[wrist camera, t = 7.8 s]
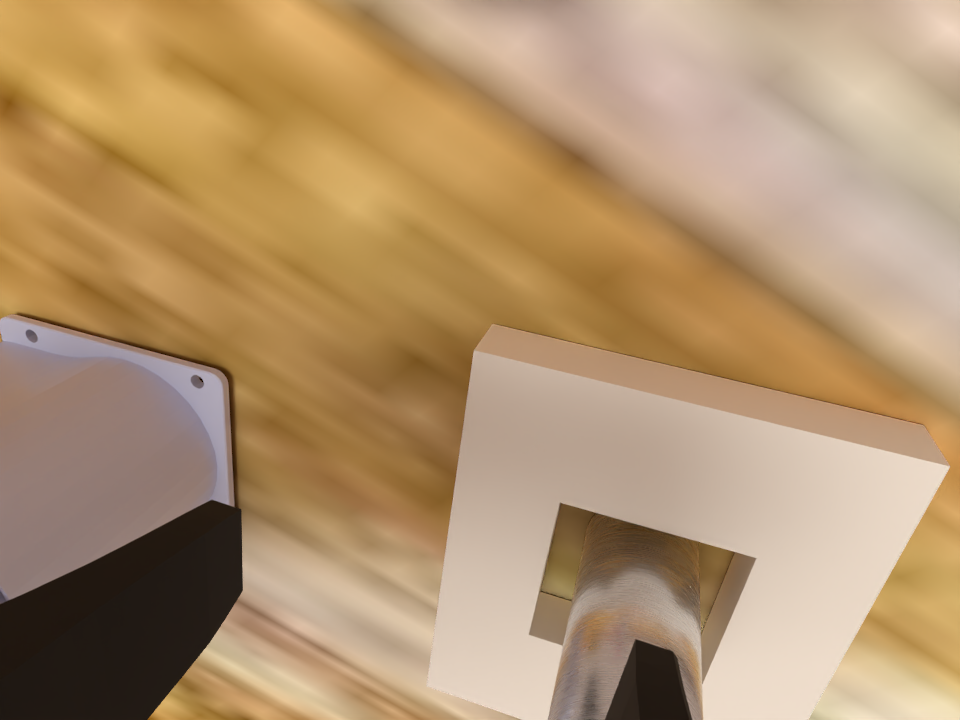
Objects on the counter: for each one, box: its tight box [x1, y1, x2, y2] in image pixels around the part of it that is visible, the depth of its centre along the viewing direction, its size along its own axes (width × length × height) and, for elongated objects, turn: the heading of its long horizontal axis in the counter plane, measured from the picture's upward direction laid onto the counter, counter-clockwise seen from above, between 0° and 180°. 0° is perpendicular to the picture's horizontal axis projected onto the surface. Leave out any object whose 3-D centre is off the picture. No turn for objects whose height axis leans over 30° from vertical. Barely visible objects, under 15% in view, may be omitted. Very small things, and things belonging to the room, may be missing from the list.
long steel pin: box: [548, 513, 703, 720], centre depth 18 cm, size 4×4×8 cm
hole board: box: [427, 324, 950, 720], centre depth 21 cm, size 12×14×2 cm
